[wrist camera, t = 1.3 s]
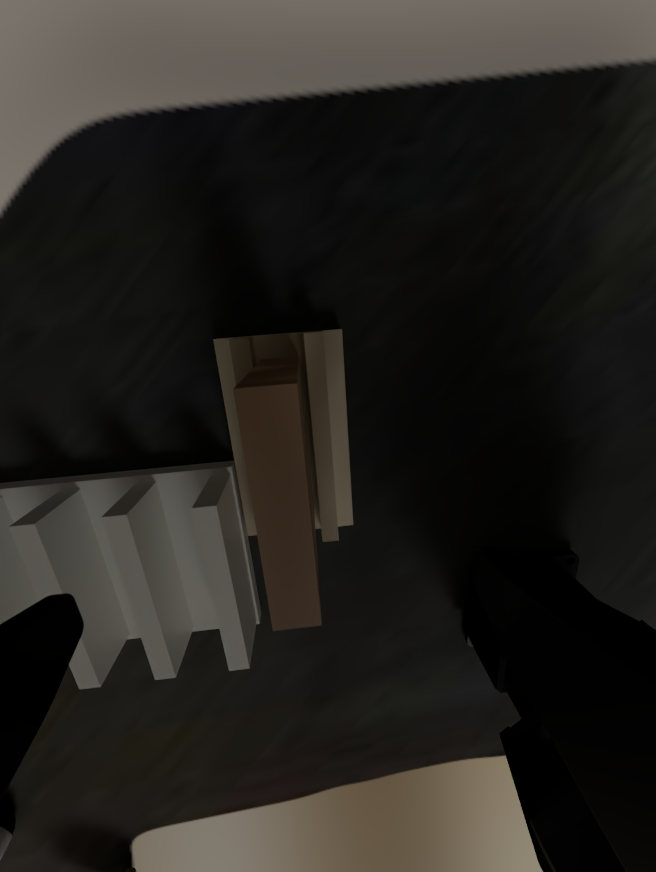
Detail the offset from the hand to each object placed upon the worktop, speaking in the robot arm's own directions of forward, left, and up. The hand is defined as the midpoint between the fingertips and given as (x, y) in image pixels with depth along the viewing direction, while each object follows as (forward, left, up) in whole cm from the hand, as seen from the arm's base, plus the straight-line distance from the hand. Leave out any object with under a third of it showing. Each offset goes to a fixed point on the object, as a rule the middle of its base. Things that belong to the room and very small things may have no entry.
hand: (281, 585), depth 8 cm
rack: (+9, +6, -10) cm, 15 cm away
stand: (0, 0, -10) cm, 10 cm away
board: (0, 0, -9) cm, 9 cm away
